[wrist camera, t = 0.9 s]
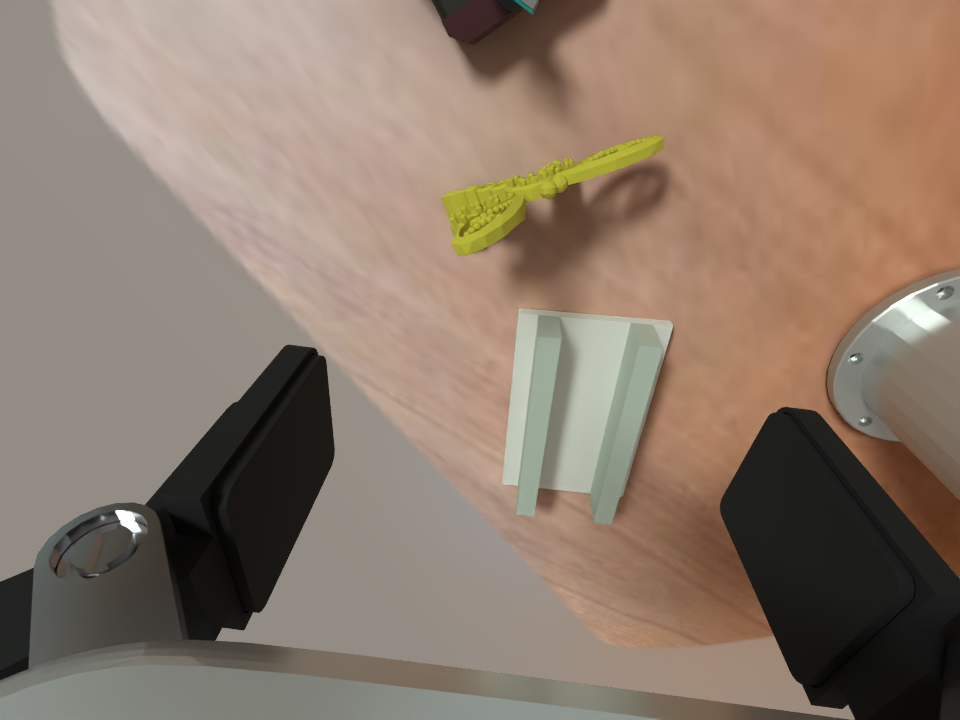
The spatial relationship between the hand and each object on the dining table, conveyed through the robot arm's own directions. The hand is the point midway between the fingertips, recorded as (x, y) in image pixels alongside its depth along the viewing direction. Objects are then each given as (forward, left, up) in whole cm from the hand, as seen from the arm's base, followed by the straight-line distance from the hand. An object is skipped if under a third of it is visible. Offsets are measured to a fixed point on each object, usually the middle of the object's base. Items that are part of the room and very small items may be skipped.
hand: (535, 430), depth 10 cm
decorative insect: (0, -1, -21) cm, 21 cm away
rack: (-5, +15, -21) cm, 26 cm away
